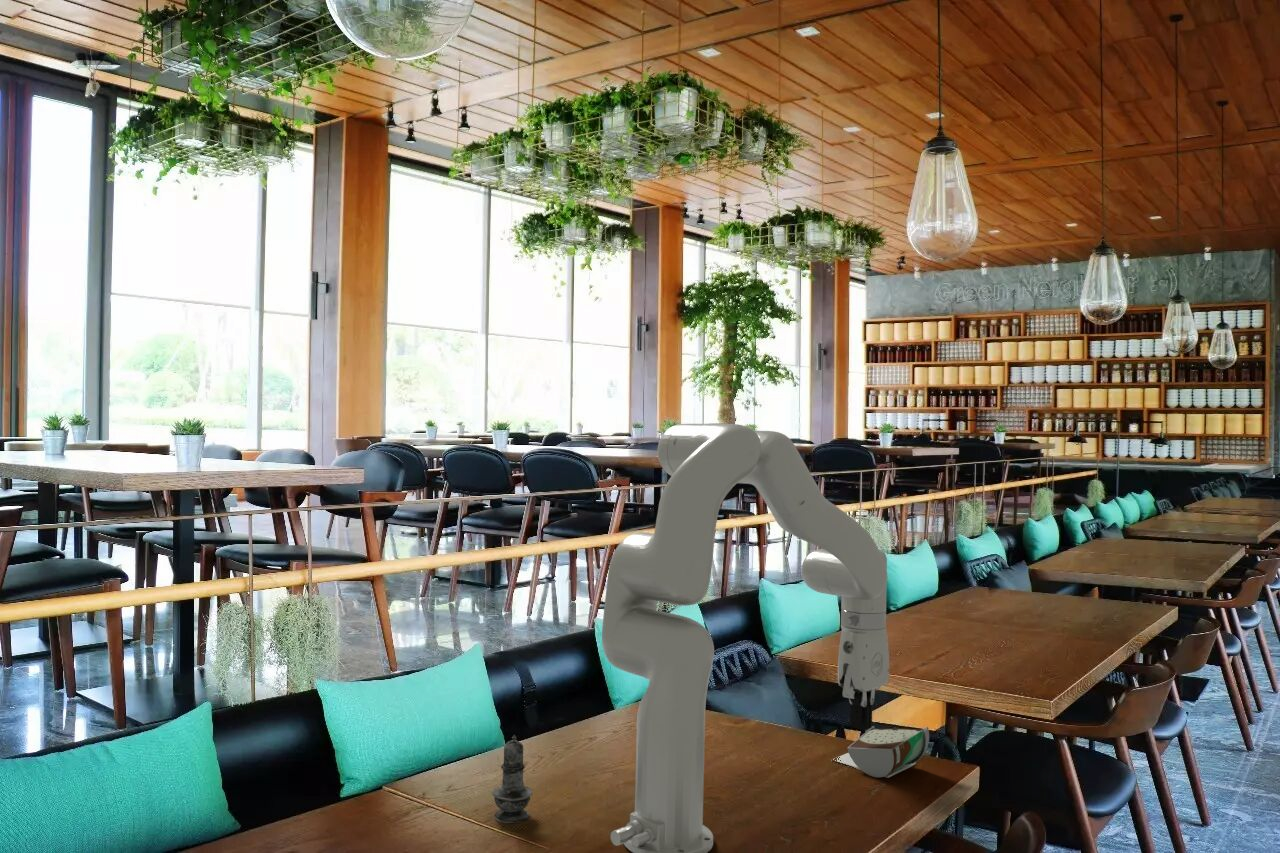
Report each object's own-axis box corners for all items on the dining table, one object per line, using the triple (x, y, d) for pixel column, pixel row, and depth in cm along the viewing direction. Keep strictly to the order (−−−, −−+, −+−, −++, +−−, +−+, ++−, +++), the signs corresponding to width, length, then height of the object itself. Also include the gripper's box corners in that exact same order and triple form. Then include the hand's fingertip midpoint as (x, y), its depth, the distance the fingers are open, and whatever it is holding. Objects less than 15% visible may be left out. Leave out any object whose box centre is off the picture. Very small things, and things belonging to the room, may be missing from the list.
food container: (910, 786, 154) (940, 761, 161) (900, 749, 155) (930, 726, 161) (850, 782, 163) (881, 758, 170) (840, 747, 164) (871, 725, 170)
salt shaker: (512, 805, 143) (515, 726, 143) (540, 816, 139) (542, 734, 140) (483, 816, 138) (485, 735, 139) (510, 828, 135) (513, 744, 135)
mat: (887, 777, 159) (887, 776, 159) (831, 761, 167) (831, 759, 167) (915, 764, 166) (915, 762, 166) (860, 749, 174) (860, 747, 174)
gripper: (860, 629, 154) (857, 742, 153) (904, 618, 164) (902, 723, 164) (820, 622, 159) (818, 731, 158) (866, 612, 170) (864, 714, 169)
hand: (861, 727), depth 161 cm, fingers closed
